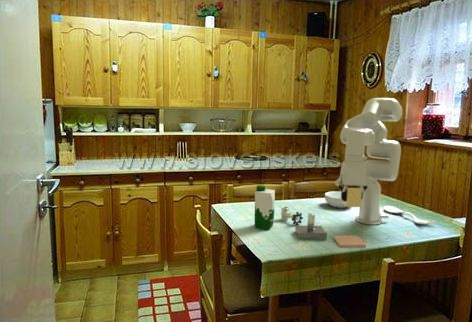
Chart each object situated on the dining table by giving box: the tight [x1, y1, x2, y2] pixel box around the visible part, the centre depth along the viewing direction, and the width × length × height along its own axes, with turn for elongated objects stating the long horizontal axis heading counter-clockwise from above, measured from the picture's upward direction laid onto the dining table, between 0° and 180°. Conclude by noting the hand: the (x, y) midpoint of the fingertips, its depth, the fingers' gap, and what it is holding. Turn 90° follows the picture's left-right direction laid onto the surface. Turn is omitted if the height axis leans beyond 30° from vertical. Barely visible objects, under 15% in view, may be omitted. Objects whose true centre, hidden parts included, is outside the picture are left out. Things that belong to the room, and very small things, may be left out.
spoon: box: [383, 205, 437, 225], centre depth 203 cm, size 9×32×4 cm, turn 16°
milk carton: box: [254, 184, 276, 231], centre depth 182 cm, size 9×9×20 cm
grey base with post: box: [294, 212, 328, 241], centre depth 172 cm, size 12×10×10 cm
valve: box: [280, 206, 304, 226], centre depth 192 cm, size 7×7×12 cm
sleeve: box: [342, 186, 362, 208], centre depth 162 cm, size 6×6×8 cm
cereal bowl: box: [324, 190, 346, 209], centre depth 223 cm, size 17×17×7 cm
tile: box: [332, 235, 367, 248], centre depth 165 cm, size 11×11×1 cm
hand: (351, 200), depth 162 cm, fingers closed on sleeve, 6 cm apart
